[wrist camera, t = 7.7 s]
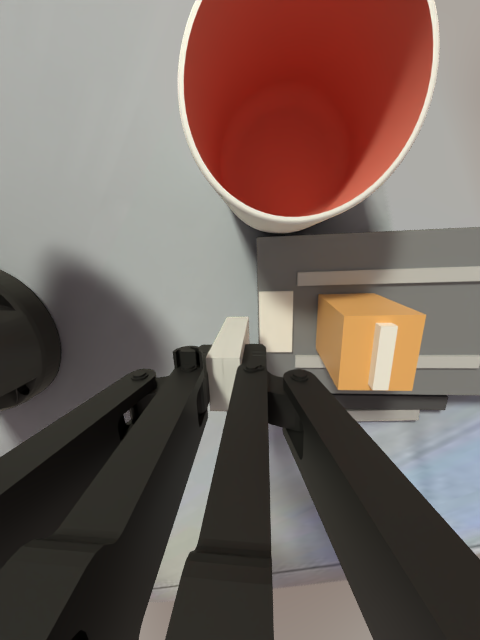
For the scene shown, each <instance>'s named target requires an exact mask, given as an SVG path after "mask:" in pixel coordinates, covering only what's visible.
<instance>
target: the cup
mask: <svg viewBox="0 0 480 640" xmlns="http://www.w3.org/2000/svg"><path fill="white" fill-rule="evenodd" d="M439 45H440V41H439V23H438V17H437V11H436V5H435V1H434V0H196V1H195V3H194V5H193V7H192V10H191V13H190V16H189V19H188V21H187V24H186V28H185V32H184V36H183V40H182V45H181V51H180V57H179V67H178V100H179V110H180V116H181V121H182V126H183V130H184V133H185V137H186V140H187V143H188V146H189V148H190V151H191V153H192V155H193V158H194V159H195V161H196V163H197V165H198V167H199V169H200V170H201V172H202V173H203V175H204V177H205V178H206V179H207V181H208V182H209V183H210V184H211V186H212V187H213V188H214V189H215V191H216V192H217V193H218V194H219V195H220V197H221V198H222V199H223V200H224V202H225V203H226V204H227V205H228V206H229V208H230V209H231V210H232V211H233V212H234V214H235V215H236V216H237V217H238V218H240V219H241V220H242V221H243V222H244V223H246V224H247V225H249V226H251V227H253V228H255V229H257V230H260V231H263V232H267V233H272V234H288V233H293V232H297V231H300V230H303V229H305V228H308V227H310V226H313V225H315V224H317V223H320V222H322V221H324V220H327V219H329V218H332V217H334V216H336V215H339V214H341V213H343V212H345V211H347V210H349V209H351V208H352V207H354V206H356V205H357V204H359V203H360V202H362V201H363V200H365V199H366V198H367V197H369V196H370V195H371V194H372V193H373V192H375V191H376V190H377V189H378V188H379V187H380V186H381V185H382V184H383V183H384V182H385V181H386V180H387V179H388V178H389V177H390V176H391V174H392V173H393V172H394V171H395V170H396V168H397V167H398V166H399V165H400V163H401V162H402V161H403V159H404V158H405V156H406V155H407V153H408V151H409V150H410V148H411V147H412V145H413V143H414V141H415V139H416V137H417V136H418V134H419V132H420V129H421V127H422V125H423V122H424V120H425V118H426V115H427V112H428V109H429V106H430V103H431V100H432V96H433V92H434V88H435V84H436V78H437V71H438V64H439Z"/></svg>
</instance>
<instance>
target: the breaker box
mask: <svg viewBox="0 0 480 640" xmlns="http://www.w3.org/2000/svg"><path fill="white" fill-rule="evenodd" d="M257 286H258V335H259V344H263V345H264V346H265V347H266V360H267V370H268V372H269V373H271V374H273V375H275V376H278V377H283V375H284V373H285V372H287V371H289V370H294V369H303V370H306V371H309V372H311V373H313V374H314V375H315V376H316V377H317V378H318V379H319V380H320V381H321V382H322V384H323V385H324V386H325V387H326V388H327V389H328V390H329V391H330V393H345V394H419V395H480V227H470V228H448V229H428V230H407V231H406V230H405V231H384V232H362V233H341V234H319V235H298V236H277V237H257ZM358 293H375V294H377V295H380V296H382V297H384V298H387V299H389V300H392V301H394V302H397V303H399V304H401V305H404V306H406V307H409V308H411V309H414V310H416V311H418V312H421V313H423V314H426V319H425V325H424V330H423V335H422V341H421V346H420V352H419V357H418V362H417V368H416V373H415V378H414V384H413V389H412V391H377V390H338V389H337V387H336V385H335V384H334V382H333V380H332V378H331V376H330V374H329V372H328V370H327V369H326V367H325V365H324V363H323V361H322V359H321V357H320V355H319V354H318V352H317V350H316V331H317V312H318V294H358Z"/></svg>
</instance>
